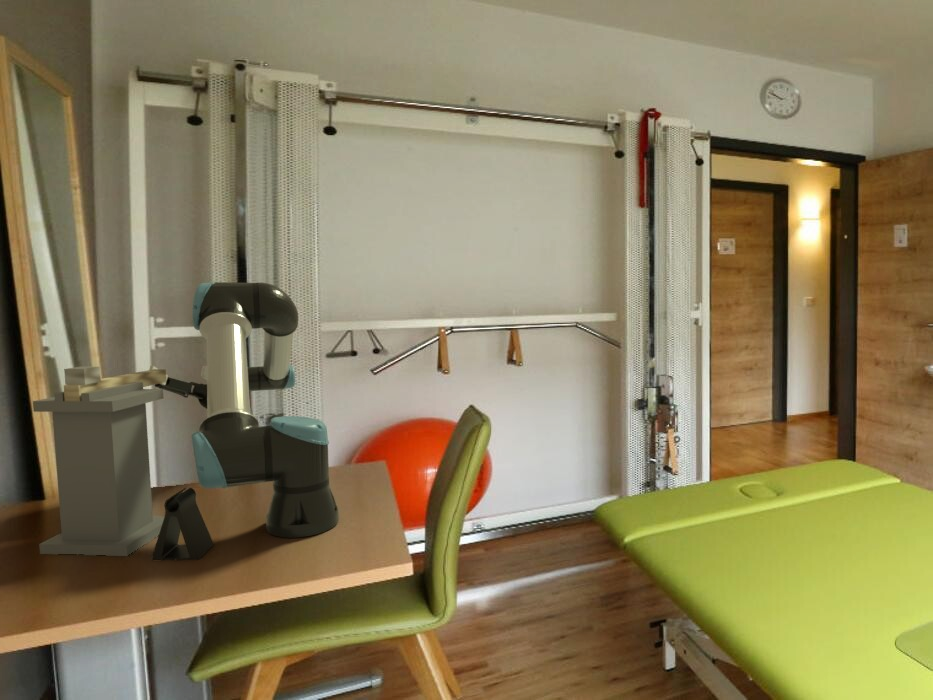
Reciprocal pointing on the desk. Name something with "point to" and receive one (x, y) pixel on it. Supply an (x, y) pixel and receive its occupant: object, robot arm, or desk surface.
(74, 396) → the beam
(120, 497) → the stand
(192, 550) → the dark triangular holder
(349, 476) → the desk surface
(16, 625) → the desk surface
